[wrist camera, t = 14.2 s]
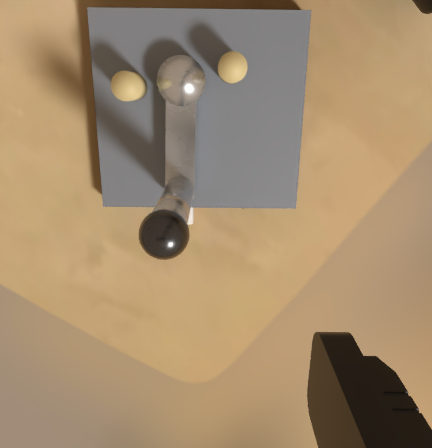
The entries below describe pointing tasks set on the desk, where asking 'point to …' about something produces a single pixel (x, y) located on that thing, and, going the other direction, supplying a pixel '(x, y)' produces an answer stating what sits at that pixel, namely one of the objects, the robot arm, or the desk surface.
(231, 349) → the desk surface
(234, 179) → the crank base
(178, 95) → the crank
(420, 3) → the end cap
